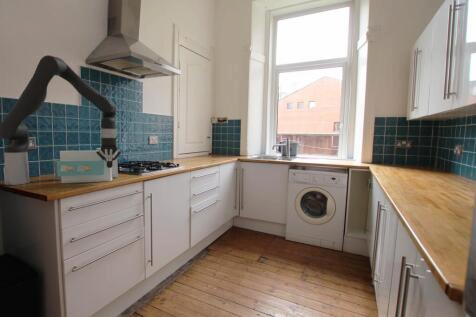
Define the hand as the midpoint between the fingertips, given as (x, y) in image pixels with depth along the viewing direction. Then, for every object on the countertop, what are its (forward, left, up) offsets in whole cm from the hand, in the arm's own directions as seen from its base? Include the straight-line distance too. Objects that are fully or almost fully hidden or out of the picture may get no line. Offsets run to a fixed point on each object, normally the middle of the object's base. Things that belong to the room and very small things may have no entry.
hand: (109, 167), depth 136 cm
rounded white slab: (-7, +28, -9) cm, 30 cm away
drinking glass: (-28, +19, -9) cm, 35 cm away
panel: (-14, 0, -4) cm, 14 cm away
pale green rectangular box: (-13, +4, -9) cm, 16 cm away
